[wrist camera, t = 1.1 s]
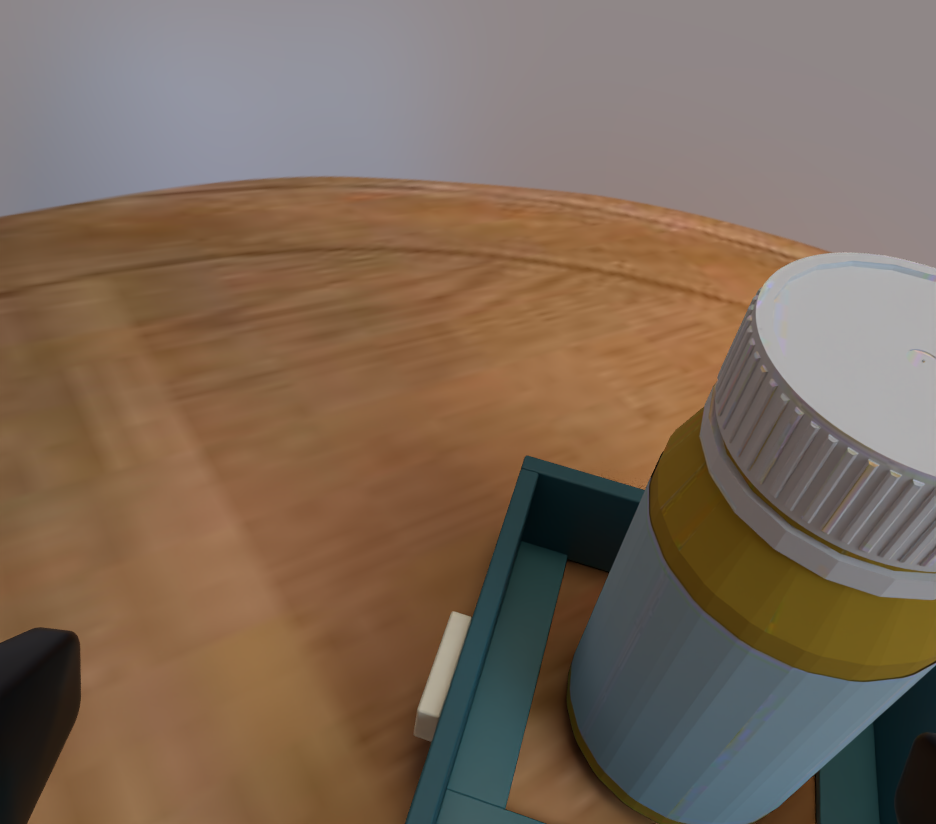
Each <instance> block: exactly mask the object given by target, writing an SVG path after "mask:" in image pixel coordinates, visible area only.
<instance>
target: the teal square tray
mask: <svg viewBox="0 0 936 824" xmlns="http://www.w3.org/2000/svg"><path fill="white" fill-rule="evenodd" d="M644 492H645V490H643V489H639V488H636V487H632V486H629V485H626V484H622V483H619V482H615V481H612V480H609V479H605V478H602V477H598V476H595V475H592V474H588V473H585V472H581V471H578V470H575V469H571V468H568V467H564V466H561V465H558V464H554V463H551V462H548V461H544V460H541V459H537V458H534V457H531V456H526V457H525V458H524V461H523V464H522V467H521V471H520V473H519V476H518V480H517V483H516V486H515V489H514V492H513V495H512V498H511V501H510V504H509V507H508V510H507V513H506V516H505V519H504V522H503V525H502V528H501V531H500V535H499V538H498V541H497V544H496V547H495V550H494V553H493V556H492V559H491V562H490V565H489V568H488V571H487V574H486V577H485V580H484V583H483V586H482V589H481V593H480V596H479V599H478V602H477V605H476V608H475V611H474V614H473V617H470V616H467V615H464V614H461V613H458V612H455V611H453V612H452V613H451V615H450V617H449V620H448V623H447V626H446V629H445V632H444V635H443V637H442V640H441V643H440V646H439V649H438V652H437V655H436V657H435V660H434V663H433V666H432V669H431V672H430V675H429V677H428V680H427V683H426V686H425V689H424V692H423V695H422V697H421V700H420V703H419V706H418V709H417V715H416V721H415V728H414V736H416V737H419V738H422V739H425V740H428V741H431V745H430V748H429V751H428V754H427V757H426V761H425V764H424V767H423V770H422V773H421V776H420V779H419V782H418V785H417V788H416V791H415V794H414V797H413V800H412V803H411V806H410V809H409V812H408V816H407V819H406V822H405V824H546V823H543V822H540V821H537V820H534V819H531V818H529V817H526V816H523V815H520V814H517V813H514V812H511V811H508V810H506V809H505V808H506V804H507V800H508V796H509V792H510V788H511V784H512V780H513V776H514V772H515V768H516V764H517V760H518V756H519V751H520V747H521V743H522V739H523V735H524V731H525V727H526V723H527V719H528V715H529V711H530V707H531V703H532V699H533V695H534V691H535V687H536V683H537V679H538V675H539V671H540V667H541V663H542V659H543V655H544V651H545V646H546V642H547V638H548V634H549V630H550V626H551V622H552V618H553V614H554V610H555V606H556V602H557V598H558V594H559V590H560V586H561V582H562V578H563V574H564V570H565V566H566V562H567V559H569V560H572V561H575V562H578V563H582V564H585V565H588V566H591V567H595V568H598V569H601V570H604V571H608V572H610V570H611V568H612V566H613V563H614V561H615V559H616V556H617V554H618V552H619V550H620V547H621V545H622V543H623V540H624V538H625V536H626V533H627V531H628V529H629V526H630V524H631V522H632V519H633V517H634V515H635V512H636V510H637V508H638V505H639V503H640V501H641V499H642V496H643V494H644ZM926 732H929V733H936V665H935V666H934V667H933V668H932V669H931V670H930V671H929V672H928V673H927V674H925V675H924V676H923V677H922V678H921V679H920V680H919V681H918V682H917V683H915V684H914V685H913V686H912V687H911V688H910V689H909V690H908V691H907V692H905V693H904V694H903V695H902V696H901V697H900V698H899V699H898V700H897V701H895V702H894V703H893V704H892V705H891V706H890V707H889V708H888V709H887V710H885V711H884V712H883V713H882V714H881V715H880V716H879V717H878V718H877V719H875V720H874V721H873V722H872V723H871V724H870V725H869V726H868V727H867V728H865V729H864V730H863V731H862V732H861V733H860V734H859V735H858V736H857V737H855V738H854V739H853V740H852V741H851V742H850V743H849V744H848V745H847V746H845V747H844V748H843V749H842V750H841V751H840V752H839V753H838V754H837V755H835V756H834V757H833V758H832V759H831V760H830V761H829V762H828V763H827V764H825V765H824V766H823V767H822V768H821V769H820V770H819V771H818V772H817V773H816V816H817V824H899V823H898V821H897V817H896V813H895V807H894V798H895V792H896V788H897V785H898V783H899V780H900V777H901V774H902V771H903V769H904V766H905V763H906V760H907V758H908V755H909V752H910V749H911V747H912V744H913V742H914V740H915V739H916V738H917V736H918V735H920V734H922V733H926Z"/></svg>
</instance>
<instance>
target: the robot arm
mask: <svg viewBox="0 0 936 824" xmlns="http://www.w3.org/2000/svg"><path fill="white" fill-rule="evenodd" d="M80 701H81V672H80V642H79V639H78V636H77V635H76V634H75V633H74V632H72V631H67V630H58V629H50V628H41V627H39V628H34V629H31V630H29V631H26V632H24V633H22V634H20V635H17V636H15V637H13V638H10V639H8V640H6V641H4V642H1V643H0V824H27V822H28V820H29V818H30V816H31V814H32V812H33V810H34V808H35V806H36V803H37V801H38V799H39V797H40V795H41V793H42V791H43V789H44V787H45V785H46V782H47V780H48V778H49V776H50V774H51V772H52V770H53V768H54V766H55V763H56V761H57V759H58V757H59V755H60V753H61V751H62V749H63V747H64V744H65V742H66V740H67V738H68V736H69V734H70V732H71V730H72V728H73V725H74V723H75V721H76V718H77V715H78V712H79V708H80ZM894 807H895V813H896V817H897V821H898V823H899V824H936V733H929V732H926V733H922V734H920V735H918V736H917V738H916V739H915V740H914V742H913V744H912V747H911V749H910V752H909V755H908V758H907V760H906V763H905V766H904V769H903V771H902V774H901V777H900V780H899V783H898V785H897V788H896V792H895V798H894Z"/></svg>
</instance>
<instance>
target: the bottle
mask: <svg viewBox="0 0 936 824" xmlns="http://www.w3.org/2000/svg"><path fill="white" fill-rule="evenodd" d="M717 378H718V381H717V382H716V383H715V385H714V386H713V388H712V390H711V392H710V395H709V397H708V399H707V401H706V403H705V406H704V407H703V408H702V409H701V410H699V411H698V412H697V413H696V414H695V415H693V416H692V417H691V418H690V419H689V420H687V421H686V422H685V423H684V424H683V425H681V426H680V427H679V428H678V429H676V430H675V432H674V433H673V434H672V436H671V437H670V439H669V441H668V443H667V445H666V447H665V450H664V451H663V452H662V454H661V456H660V458H659V460H658V462H657V465H656V467H655V469H654V471H653V473H652V475H651V478H650V480H649V482H648V485H647V487H646V489H645V492H644V494H643V496H642V499H641V501H640V503H639V505H638V508H637V510H636V512H635V515H634V517H633V519H632V522H631V524H630V526H629V529H628V531H627V533H626V536H625V538H624V540H623V543H622V545H621V547H620V550H619V552H618V554H617V556H616V559H615V561H614V563H613V566H612V568H611V570H610V573H609V575H608V577H607V580H606V582H605V584H604V587H603V589H602V591H601V594H600V596H599V598H598V601H597V603H596V605H595V607H594V610H593V612H592V614H591V617H590V619H589V621H588V624H587V626H586V628H585V631H584V633H583V635H582V638H581V640H580V642H579V645H578V647H577V649H576V652H575V654H574V657H573V661H572V663H571V666H570V670H569V674H568V687H567V708H568V712H569V716H570V721H571V725H572V729H573V733H574V736H575V739H576V741H577V744H578V746H579V747H580V749H581V751H582V753H583V754H584V756H585V758H586V759H587V761H588V763H589V765H590V766H591V768H592V770H593V771H594V773H595V774H596V775H597V777H598V778H599V779H600V780H601V781H602V782H603V783H604V784H605V785H606V786H607V787H608V788H609V789H610V790H611V791H612V792H613V793H614V794H615V795H616V796H617V797H618V798H619V799H620V800H621V801H622V802H623V803H625V804H626V805H627V806H629V807H630V808H631V809H633V810H635V811H637V812H638V813H640V814H642V815H644V816H646V817H648V818H649V819H651V820H653V821H655V822H657V823H658V824H753V823H754V822H756V821H758V820H759V819H761V818H763V817H764V816H766V815H768V814H769V813H770V812H771V811H773V810H775V809H776V808H778V807H779V806H780V805H781V804H782V803H783V802H784V801H786V800H787V799H788V798H789V797H790V796H791V795H792V794H793V793H794V792H796V791H797V790H798V789H799V788H800V787H801V786H802V785H803V784H804V783H806V782H807V781H808V780H809V779H810V778H811V777H812V776H813V775H814V774H815V773H817V772H818V771H819V770H820V769H821V768H822V767H823V766H824V765H825V764H827V763H828V762H829V761H830V760H831V759H832V758H833V757H834V756H835V755H837V754H838V753H839V752H840V751H841V750H842V749H843V748H844V747H845V746H847V745H848V744H849V743H850V742H851V741H852V740H853V739H854V738H855V737H857V736H858V735H859V734H860V733H861V732H862V731H863V730H864V729H865V728H867V727H868V726H869V725H870V724H871V723H872V722H873V721H874V720H875V719H877V718H878V717H879V716H880V715H881V714H882V713H883V712H884V711H885V710H887V709H888V708H889V707H890V706H891V705H892V704H893V703H894V702H895V701H897V700H898V699H899V698H900V697H901V696H902V695H903V694H904V693H905V692H907V691H908V690H909V689H910V688H911V687H912V686H913V685H914V684H915V683H917V682H918V681H919V680H920V679H921V678H922V677H923V676H924V675H925V674H927V673H928V672H929V671H930V670H931V669H932V668H933V667H934V666H935V665H936V268H933V267H930V266H927V265H924V264H920V263H917V262H913V261H909V260H904V259H900V258H895V257H890V256H884V255H876V254H868V253H828V254H820V255H814V256H810V257H806V258H803V259H800V260H797V261H794V262H792V263H790V264H788V265H786V266H784V267H782V268H781V269H779V270H778V271H777V272H775V273H774V274H773V275H772V276H771V277H770V278H769V279H768V280H767V281H766V283H765V284H764V286H763V287H761V288H760V289H759V290H758V292H757V294H756V296H754V297H753V299H752V302H751V304H750V306H749V308H748V310H747V312H746V315H745V317H744V319H743V321H742V323H741V326H740V328H739V330H738V332H737V334H736V336H735V339H734V341H733V343H732V345H731V347H730V349H729V352H728V354H727V356H726V358H725V360H724V363H723V365H722V367H721V370H720V372H719V374H718V377H717Z"/></svg>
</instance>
